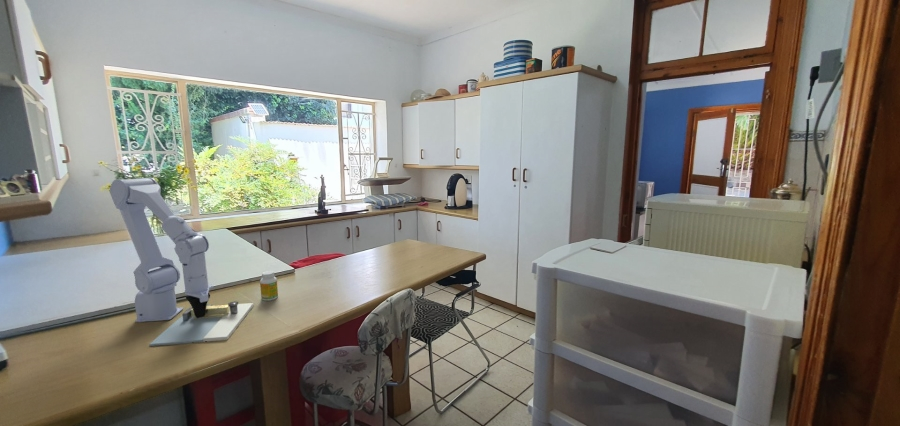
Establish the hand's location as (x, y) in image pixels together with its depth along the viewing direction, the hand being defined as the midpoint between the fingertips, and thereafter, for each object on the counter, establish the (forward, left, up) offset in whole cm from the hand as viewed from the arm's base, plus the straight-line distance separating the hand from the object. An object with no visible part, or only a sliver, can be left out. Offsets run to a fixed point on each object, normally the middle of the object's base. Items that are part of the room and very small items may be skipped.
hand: (200, 316), depth 106 cm
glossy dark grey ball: (+8, +3, -2) cm, 9 cm away
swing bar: (+2, +2, 0) cm, 3 cm away
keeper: (-2, +4, -2) cm, 4 cm away
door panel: (+2, -1, -2) cm, 3 cm away
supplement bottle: (+15, +16, -2) cm, 22 cm away
